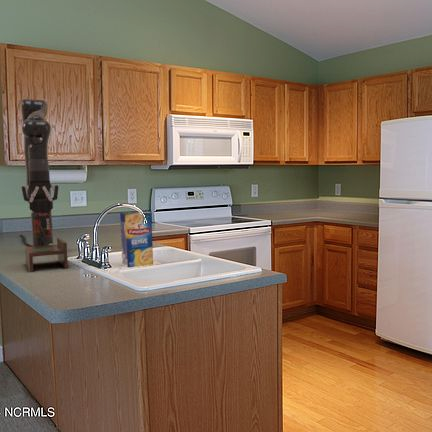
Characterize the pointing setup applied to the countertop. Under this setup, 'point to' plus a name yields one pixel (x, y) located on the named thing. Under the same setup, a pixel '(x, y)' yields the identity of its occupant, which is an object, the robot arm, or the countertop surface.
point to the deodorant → (42, 218)
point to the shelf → (47, 253)
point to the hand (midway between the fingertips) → (41, 210)
